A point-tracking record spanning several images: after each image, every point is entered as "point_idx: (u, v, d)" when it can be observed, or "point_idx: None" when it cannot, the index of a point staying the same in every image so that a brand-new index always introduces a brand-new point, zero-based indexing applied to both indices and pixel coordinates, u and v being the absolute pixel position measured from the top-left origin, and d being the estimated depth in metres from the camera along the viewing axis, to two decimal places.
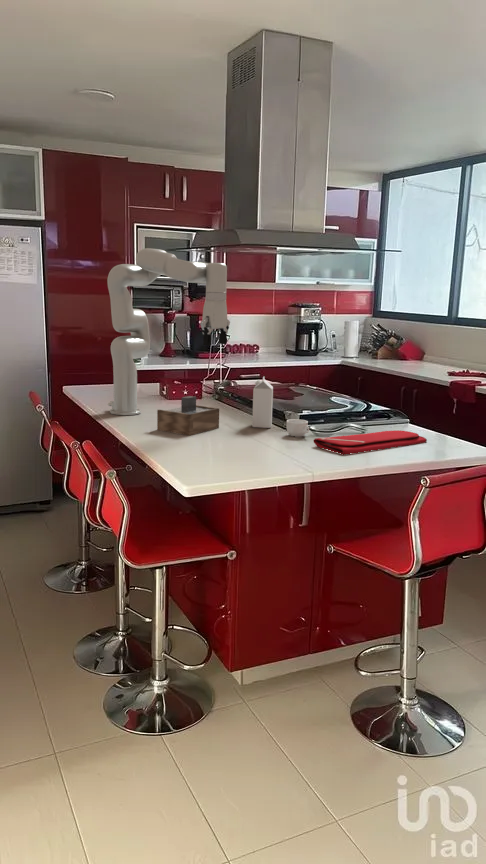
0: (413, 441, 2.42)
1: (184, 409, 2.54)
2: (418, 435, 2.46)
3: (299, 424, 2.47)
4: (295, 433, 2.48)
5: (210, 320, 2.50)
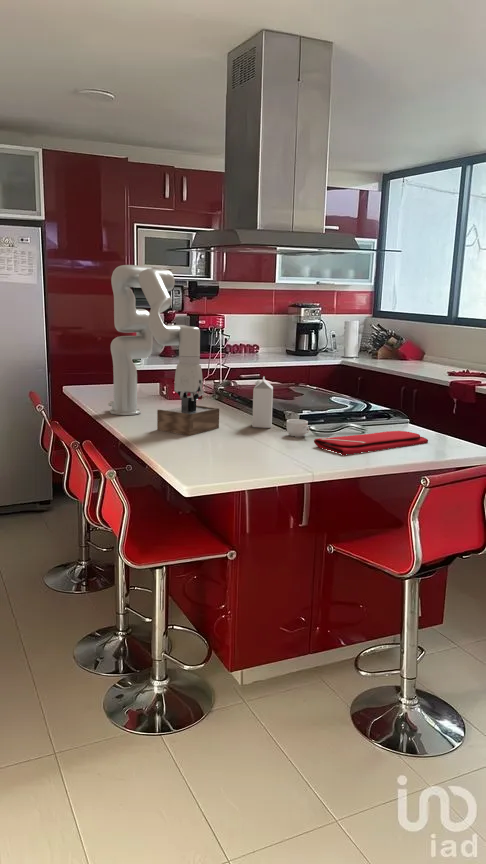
0: (414, 441, 2.42)
1: (184, 409, 2.54)
2: (419, 436, 2.45)
3: (299, 424, 2.47)
4: (295, 433, 2.48)
5: None
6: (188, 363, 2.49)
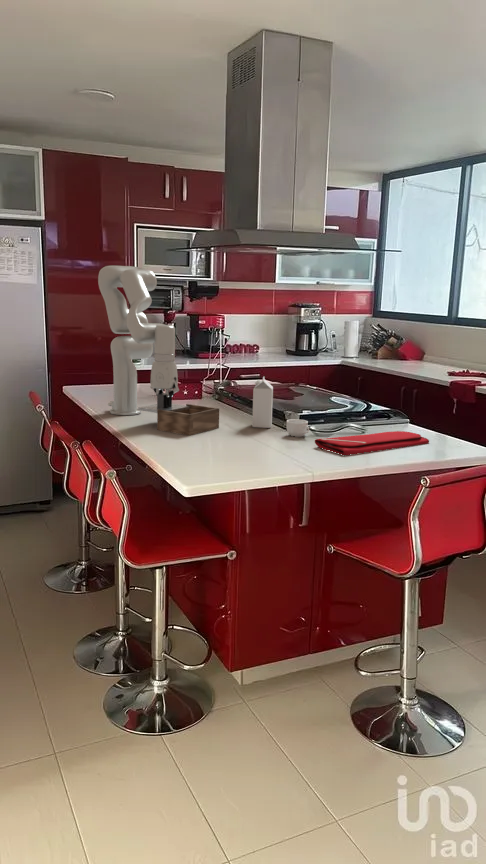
0: (415, 441, 2.41)
1: (160, 405, 2.61)
2: (420, 436, 2.44)
3: (299, 424, 2.47)
4: (295, 433, 2.48)
5: None
6: (163, 361, 2.56)
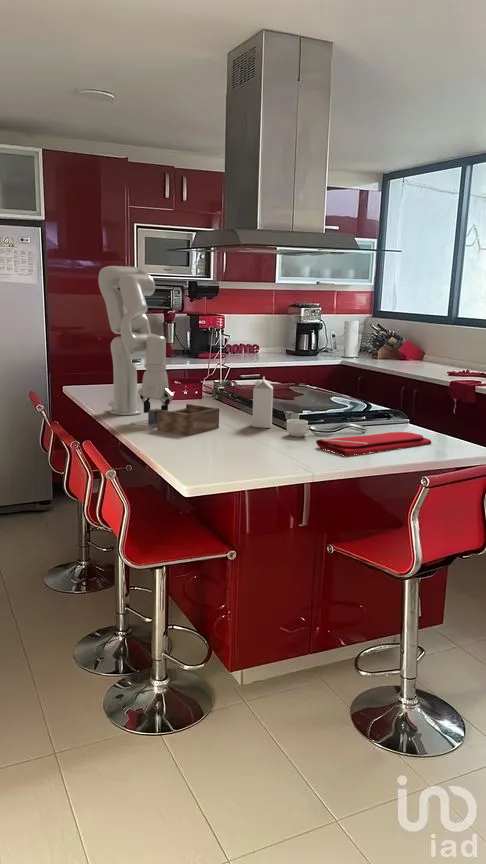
0: (417, 442, 2.40)
1: (151, 421, 2.64)
2: (422, 437, 2.43)
3: (299, 424, 2.47)
4: (295, 433, 2.48)
5: None
6: (154, 371, 2.59)
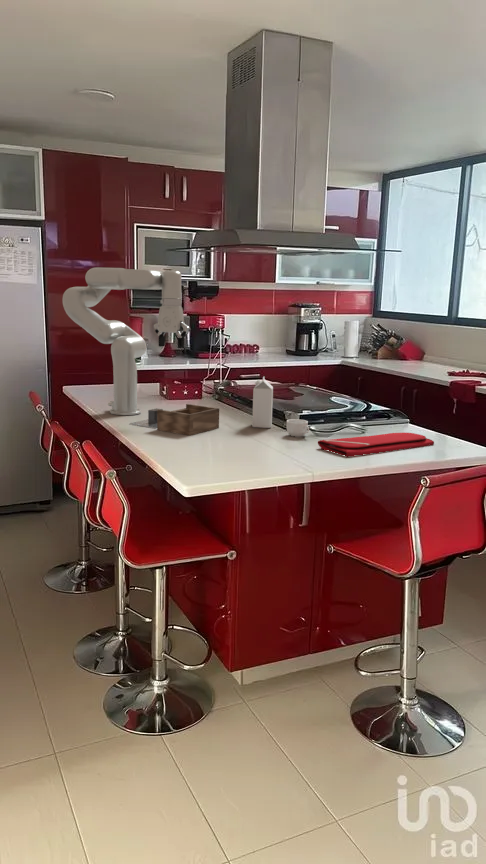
0: (420, 443, 2.39)
1: (151, 421, 2.64)
2: (425, 437, 2.42)
3: (299, 424, 2.47)
4: (295, 433, 2.48)
5: None
6: (170, 305, 2.67)
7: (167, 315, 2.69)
